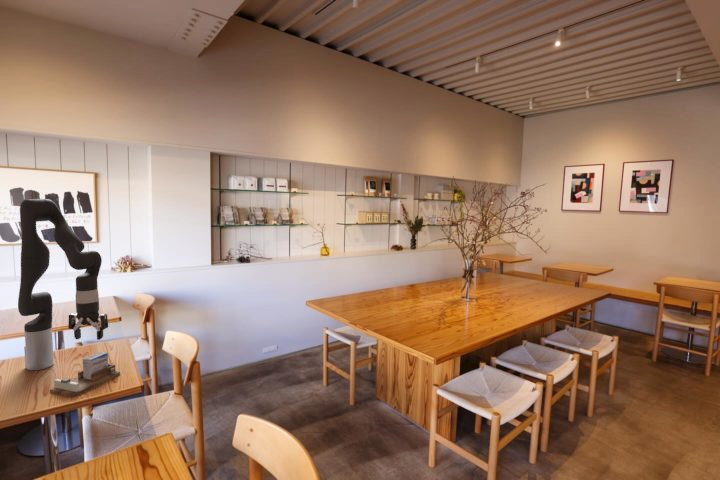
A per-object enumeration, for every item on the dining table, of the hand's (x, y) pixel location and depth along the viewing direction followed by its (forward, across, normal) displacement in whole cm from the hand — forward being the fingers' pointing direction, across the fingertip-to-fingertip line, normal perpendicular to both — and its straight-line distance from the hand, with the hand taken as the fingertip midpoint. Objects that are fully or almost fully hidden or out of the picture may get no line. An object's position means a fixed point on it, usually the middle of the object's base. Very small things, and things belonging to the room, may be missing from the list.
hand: (89, 338), depth 153 cm
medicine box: (+17, 0, +3) cm, 17 cm away
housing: (+18, -1, -1) cm, 18 cm away
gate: (+17, -3, -9) cm, 19 cm away
